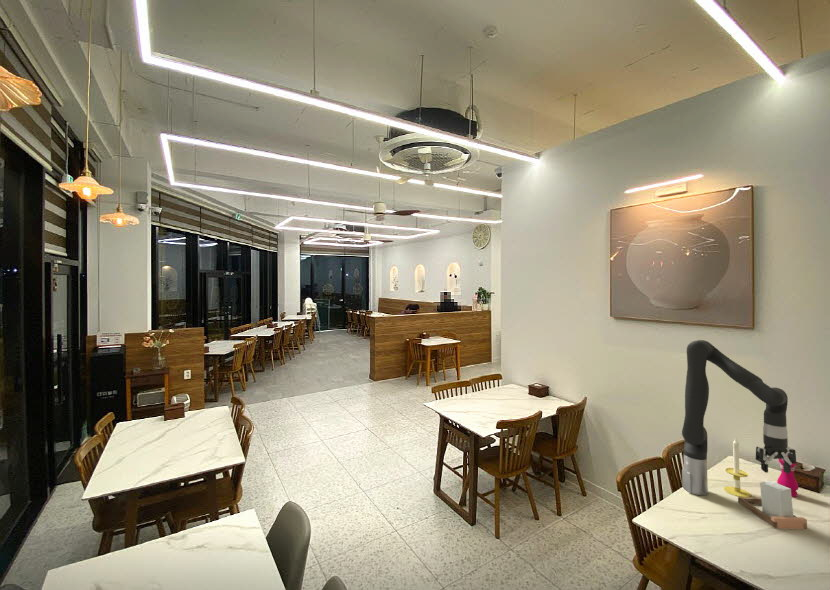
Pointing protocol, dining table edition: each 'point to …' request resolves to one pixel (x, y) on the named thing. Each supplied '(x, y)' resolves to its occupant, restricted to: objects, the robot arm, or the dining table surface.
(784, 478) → the pepper mill
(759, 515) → the guide channel
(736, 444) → the candle
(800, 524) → the stop block
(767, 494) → the skincare box
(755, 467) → the dining table surface
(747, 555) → the dining table surface
